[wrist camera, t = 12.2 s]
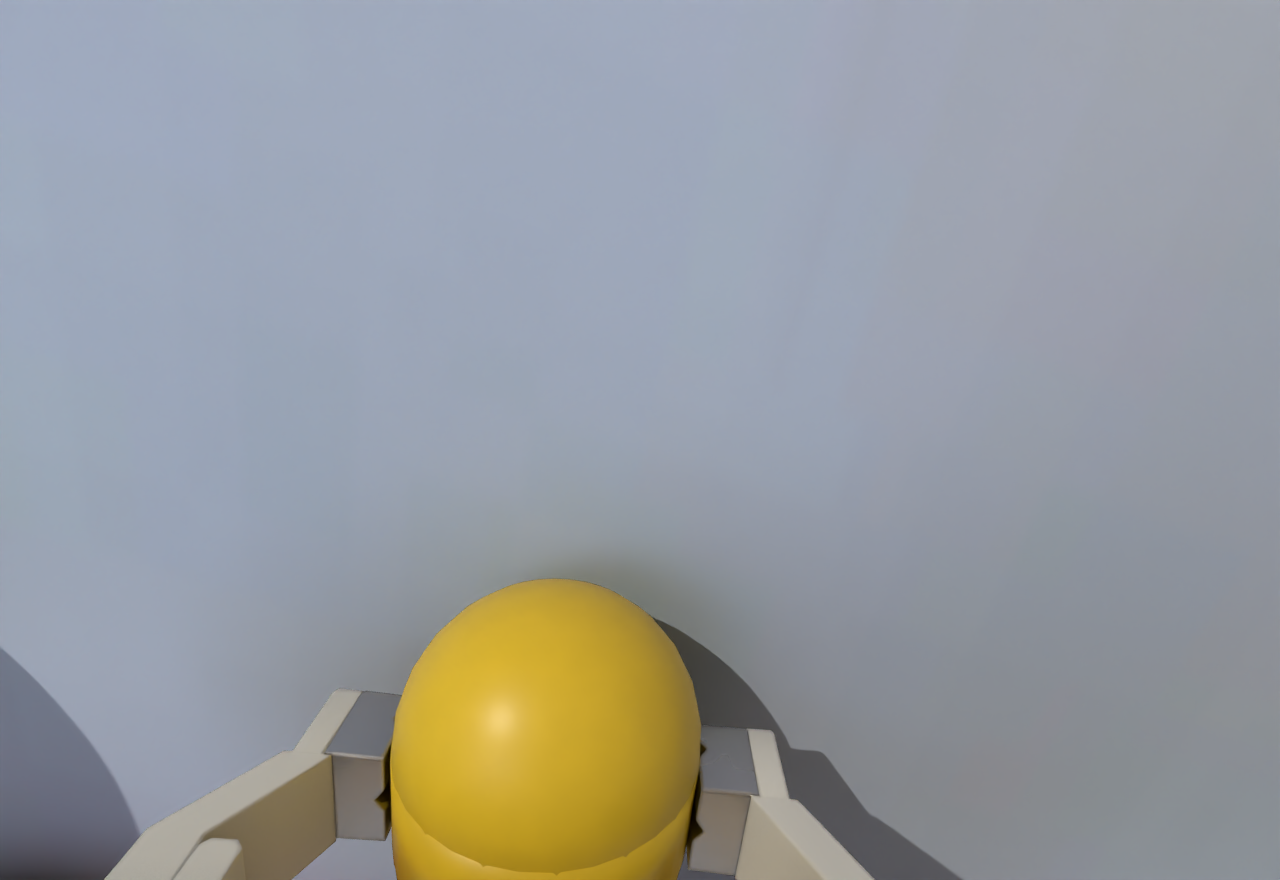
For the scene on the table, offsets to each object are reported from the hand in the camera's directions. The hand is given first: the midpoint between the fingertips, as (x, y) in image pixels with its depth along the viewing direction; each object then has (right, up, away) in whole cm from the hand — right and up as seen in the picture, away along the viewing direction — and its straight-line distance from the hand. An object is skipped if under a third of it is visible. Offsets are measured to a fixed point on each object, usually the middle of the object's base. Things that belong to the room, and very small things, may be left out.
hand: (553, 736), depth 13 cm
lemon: (0, +1, +2) cm, 2 cm away
